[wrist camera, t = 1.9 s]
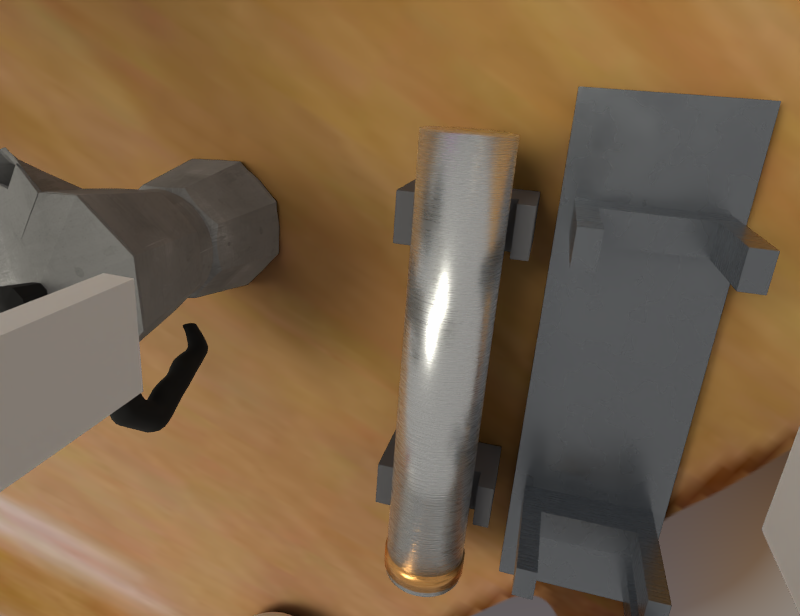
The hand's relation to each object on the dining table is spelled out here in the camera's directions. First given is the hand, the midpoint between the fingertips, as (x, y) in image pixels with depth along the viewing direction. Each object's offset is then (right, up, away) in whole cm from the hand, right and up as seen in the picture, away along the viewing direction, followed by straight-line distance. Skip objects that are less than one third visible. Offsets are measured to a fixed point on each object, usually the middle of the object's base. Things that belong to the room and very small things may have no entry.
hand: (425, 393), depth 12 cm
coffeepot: (-12, +7, +31) cm, 34 cm away
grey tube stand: (+13, -3, +27) cm, 30 cm away
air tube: (+3, -2, +25) cm, 26 cm away
